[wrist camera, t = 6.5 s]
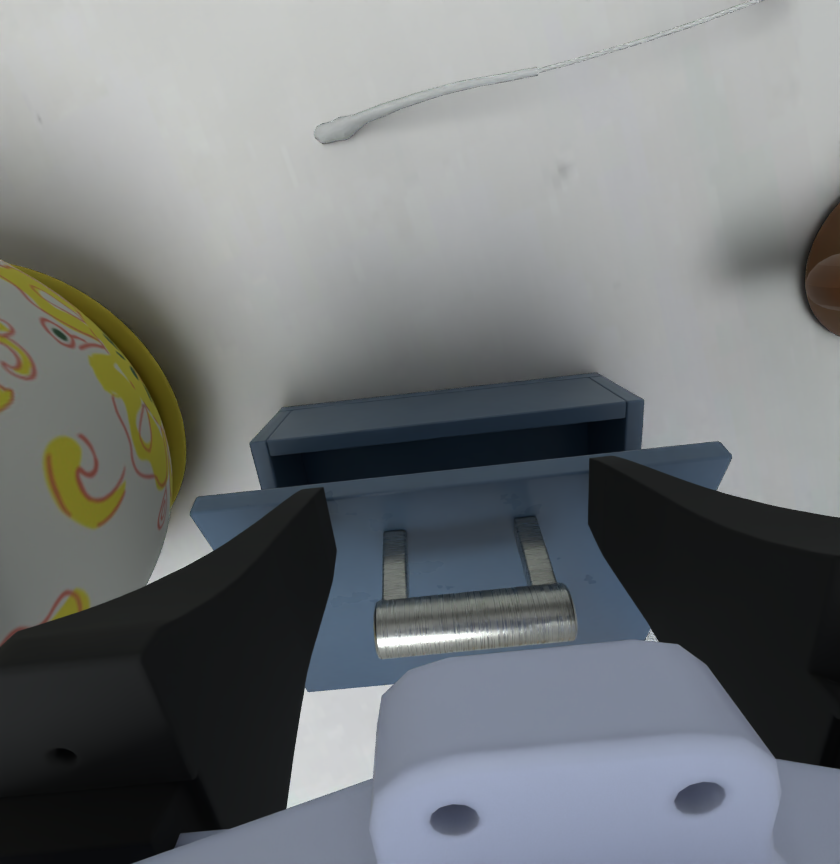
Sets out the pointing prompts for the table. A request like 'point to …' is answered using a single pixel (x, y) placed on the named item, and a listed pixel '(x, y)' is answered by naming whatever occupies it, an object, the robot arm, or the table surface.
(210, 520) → the lid
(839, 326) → the mug
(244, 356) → the table surface
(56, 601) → the flowerpot
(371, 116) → the eyeglasses
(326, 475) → the blue-grey shallow box
